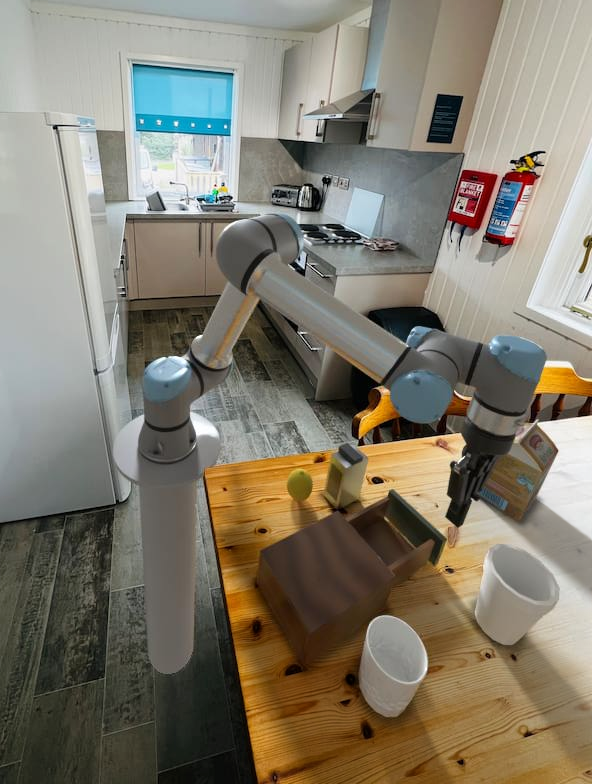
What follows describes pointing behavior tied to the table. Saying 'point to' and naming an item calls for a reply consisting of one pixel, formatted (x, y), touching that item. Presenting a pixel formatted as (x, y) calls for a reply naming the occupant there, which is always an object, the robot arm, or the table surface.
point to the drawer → (398, 535)
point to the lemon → (299, 484)
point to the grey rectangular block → (345, 475)
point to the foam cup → (513, 593)
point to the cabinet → (323, 584)
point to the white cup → (391, 665)
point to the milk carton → (520, 471)
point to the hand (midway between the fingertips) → (453, 520)
